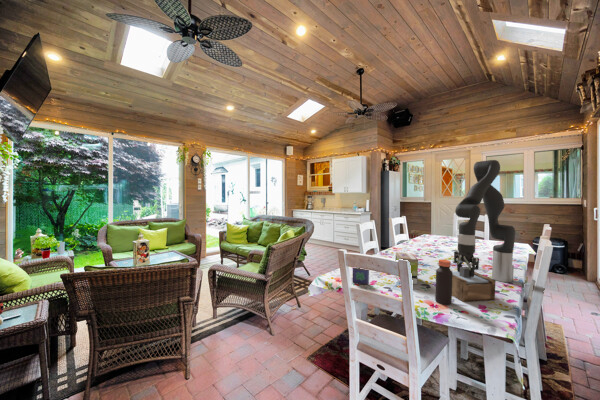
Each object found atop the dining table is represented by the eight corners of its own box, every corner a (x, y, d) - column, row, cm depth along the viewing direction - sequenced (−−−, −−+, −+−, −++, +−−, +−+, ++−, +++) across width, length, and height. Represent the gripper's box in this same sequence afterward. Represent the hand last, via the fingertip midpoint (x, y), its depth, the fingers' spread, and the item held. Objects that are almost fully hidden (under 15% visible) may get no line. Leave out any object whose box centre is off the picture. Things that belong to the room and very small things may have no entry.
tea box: (417, 284, 140) (418, 259, 139) (399, 283, 142) (399, 258, 141) (411, 275, 155) (412, 252, 154) (394, 274, 157) (395, 251, 156)
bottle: (442, 298, 123) (443, 258, 122) (454, 304, 117) (456, 262, 116) (431, 299, 121) (433, 259, 120) (444, 306, 115) (445, 263, 114)
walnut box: (437, 287, 137) (438, 269, 136) (465, 286, 139) (466, 268, 138) (462, 301, 119) (463, 281, 119) (494, 300, 121) (495, 280, 121)
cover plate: (443, 274, 135) (443, 264, 134) (466, 273, 136) (467, 263, 136) (463, 283, 121) (463, 272, 121) (488, 282, 122) (489, 271, 122)
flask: (369, 283, 141) (369, 265, 140) (368, 285, 138) (368, 266, 138) (352, 281, 144) (353, 263, 144) (351, 283, 142) (352, 264, 141)
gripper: (484, 245, 121) (483, 279, 122) (462, 239, 135) (461, 269, 136) (471, 246, 120) (469, 279, 121) (449, 240, 134) (448, 270, 135)
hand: (465, 274), depth 128 cm, fingers open, 7 cm apart
